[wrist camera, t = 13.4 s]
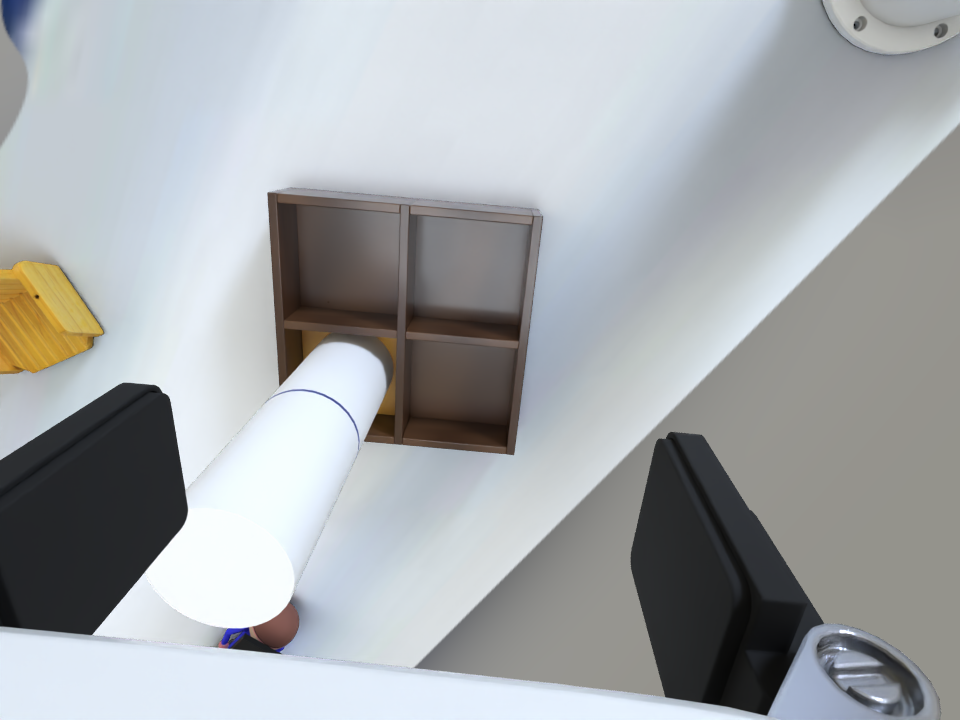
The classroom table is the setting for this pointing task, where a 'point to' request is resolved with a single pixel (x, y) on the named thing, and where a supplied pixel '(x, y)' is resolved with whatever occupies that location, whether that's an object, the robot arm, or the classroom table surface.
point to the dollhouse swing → (41, 318)
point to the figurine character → (265, 633)
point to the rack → (413, 305)
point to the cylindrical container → (274, 489)
